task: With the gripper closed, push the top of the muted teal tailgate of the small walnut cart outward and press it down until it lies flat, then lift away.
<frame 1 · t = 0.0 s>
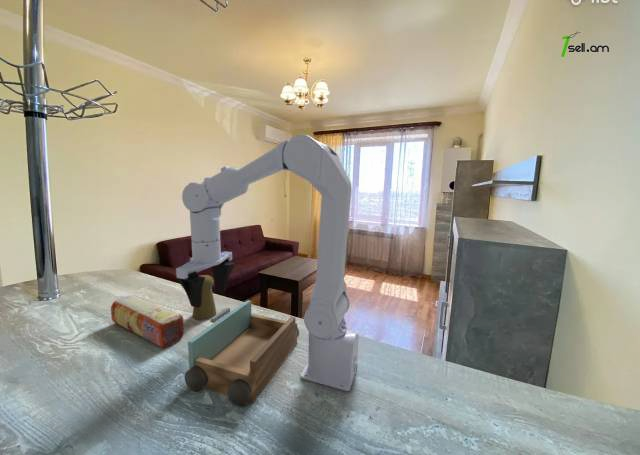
hand: (209, 299, 59), 10 cm above the counter, tool pointing down, fingers open, 7 cm apart
tailgate: (223, 329, 55), point 6 cm above the counter, hinge at 0.0°
snack package: (148, 331, 65), on the counter
olive tapered cylinder: (204, 315, 73), on the counter
cart: (249, 361, 54), on the counter
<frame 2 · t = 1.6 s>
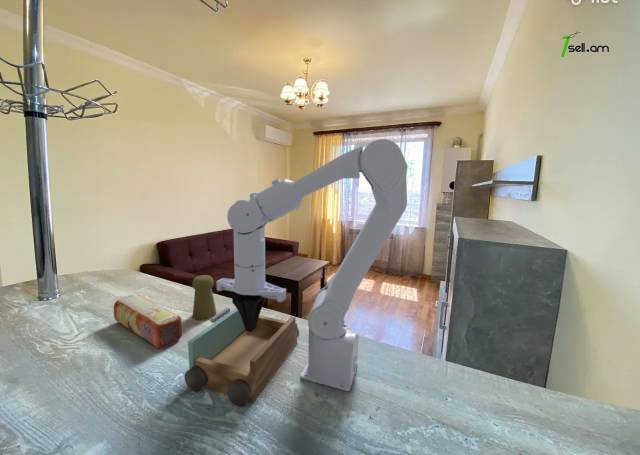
hand: (251, 328, 53), 7 cm above the counter, tool pointing down, fingers closed
nothing on the counter moved.
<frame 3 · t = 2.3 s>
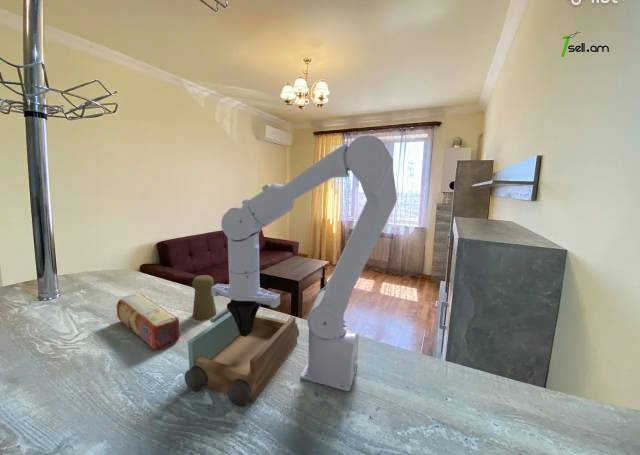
hand: (245, 333, 53), 6 cm above the counter, tool pointing down, fingers closed
nothing on the counter moved.
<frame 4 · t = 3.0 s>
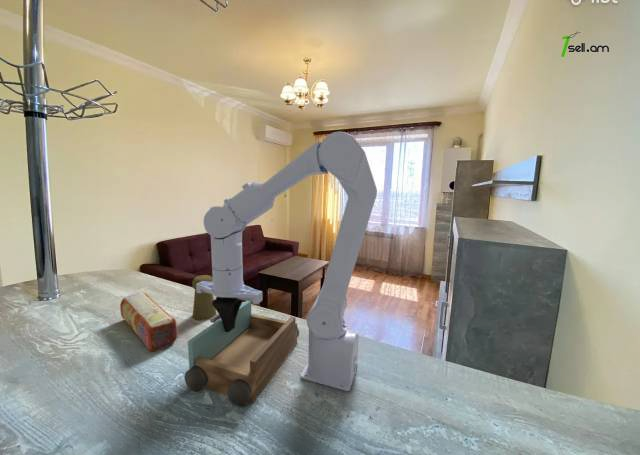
hand: (229, 329, 55), 6 cm above the counter, tool pointing down, fingers closed, pressing on tailgate
tailgate: (223, 329, 55), point 6 cm above the counter, hinge at 0.3°, touching gripper
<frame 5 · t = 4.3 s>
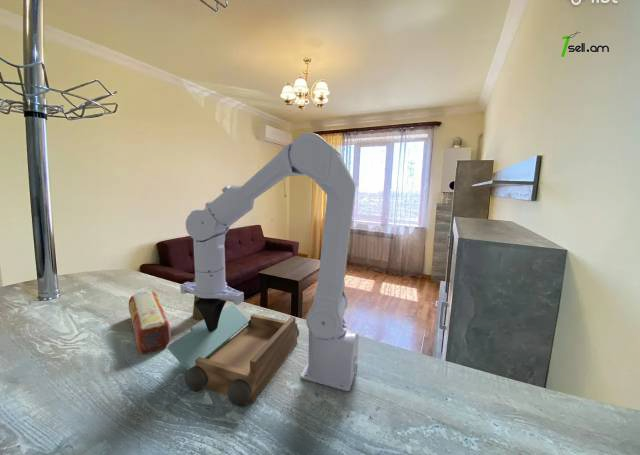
hand: (212, 329, 56), 5 cm above the counter, tool pointing down, fingers closed, pressing on tailgate
tailgate: (211, 332, 56), point 4 cm above the counter, hinge at 53.1°, touching gripper
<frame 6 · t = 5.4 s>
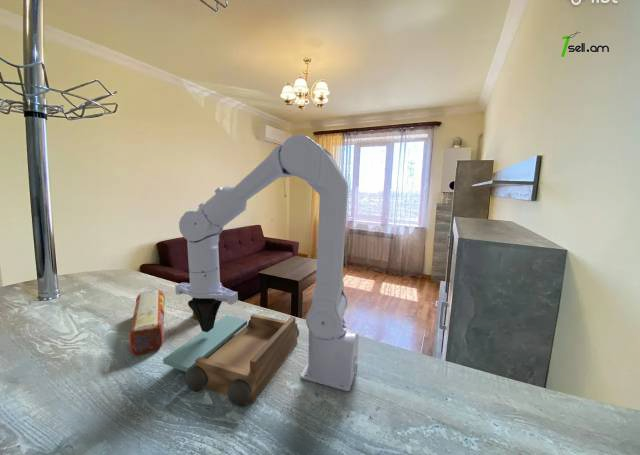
hand: (207, 329, 57), 5 cm above the counter, tool pointing down, fingers closed
tailgate: (209, 340, 57), point 2 cm above the counter, hinge at 87.3°
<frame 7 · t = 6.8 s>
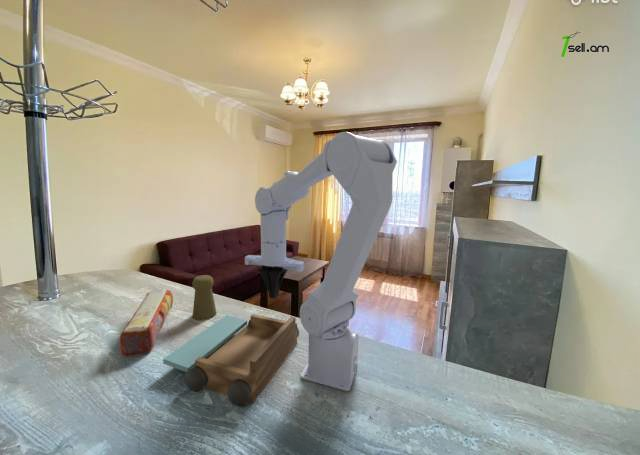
hand: (273, 296, 63), 9 cm above the counter, tool pointing down, fingers closed
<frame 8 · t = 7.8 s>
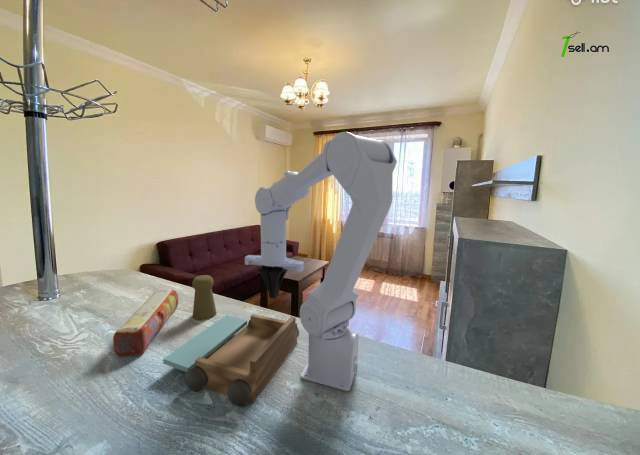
hand: (273, 296, 63), 9 cm above the counter, tool pointing down, fingers closed
at the end: tailgate at +87° (first picture: +0°); olive tapered cylinder moved 0.2 cm from its start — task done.
